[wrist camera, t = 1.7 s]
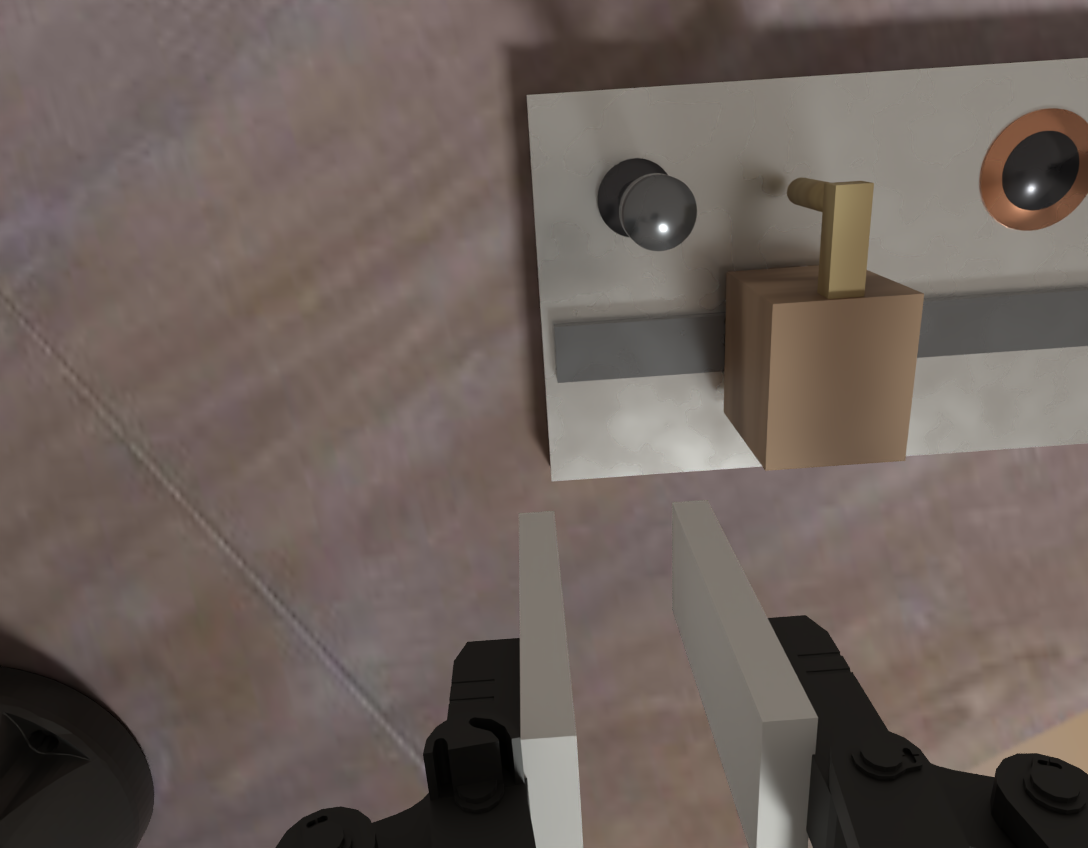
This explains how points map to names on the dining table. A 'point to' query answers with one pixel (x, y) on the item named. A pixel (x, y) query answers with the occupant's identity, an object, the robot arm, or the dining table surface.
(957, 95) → the bolt plate
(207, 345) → the dining table surface
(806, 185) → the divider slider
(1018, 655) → the dining table surface
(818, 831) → the robot arm
